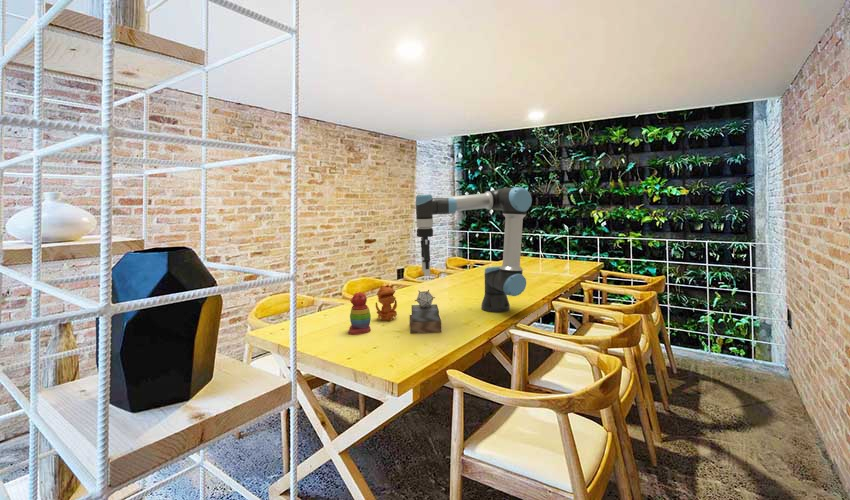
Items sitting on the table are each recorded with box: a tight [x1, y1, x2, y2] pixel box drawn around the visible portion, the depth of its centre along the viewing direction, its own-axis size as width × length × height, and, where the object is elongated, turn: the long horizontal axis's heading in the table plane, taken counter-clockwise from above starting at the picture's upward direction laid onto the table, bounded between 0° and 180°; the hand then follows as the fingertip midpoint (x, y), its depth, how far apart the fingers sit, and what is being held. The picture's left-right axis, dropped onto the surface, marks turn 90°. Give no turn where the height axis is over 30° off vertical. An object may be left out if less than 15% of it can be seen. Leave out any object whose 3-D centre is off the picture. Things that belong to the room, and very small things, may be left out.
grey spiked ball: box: [414, 289, 436, 308], centre depth 200 cm, size 9×8×10 cm
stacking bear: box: [347, 291, 372, 336], centre depth 199 cm, size 11×10×18 cm
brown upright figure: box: [375, 284, 398, 322], centre depth 217 cm, size 11×11×18 cm
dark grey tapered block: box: [409, 303, 442, 334], centre depth 201 cm, size 14×13×10 cm
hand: (426, 273), depth 203 cm, fingers open, 13 cm apart
